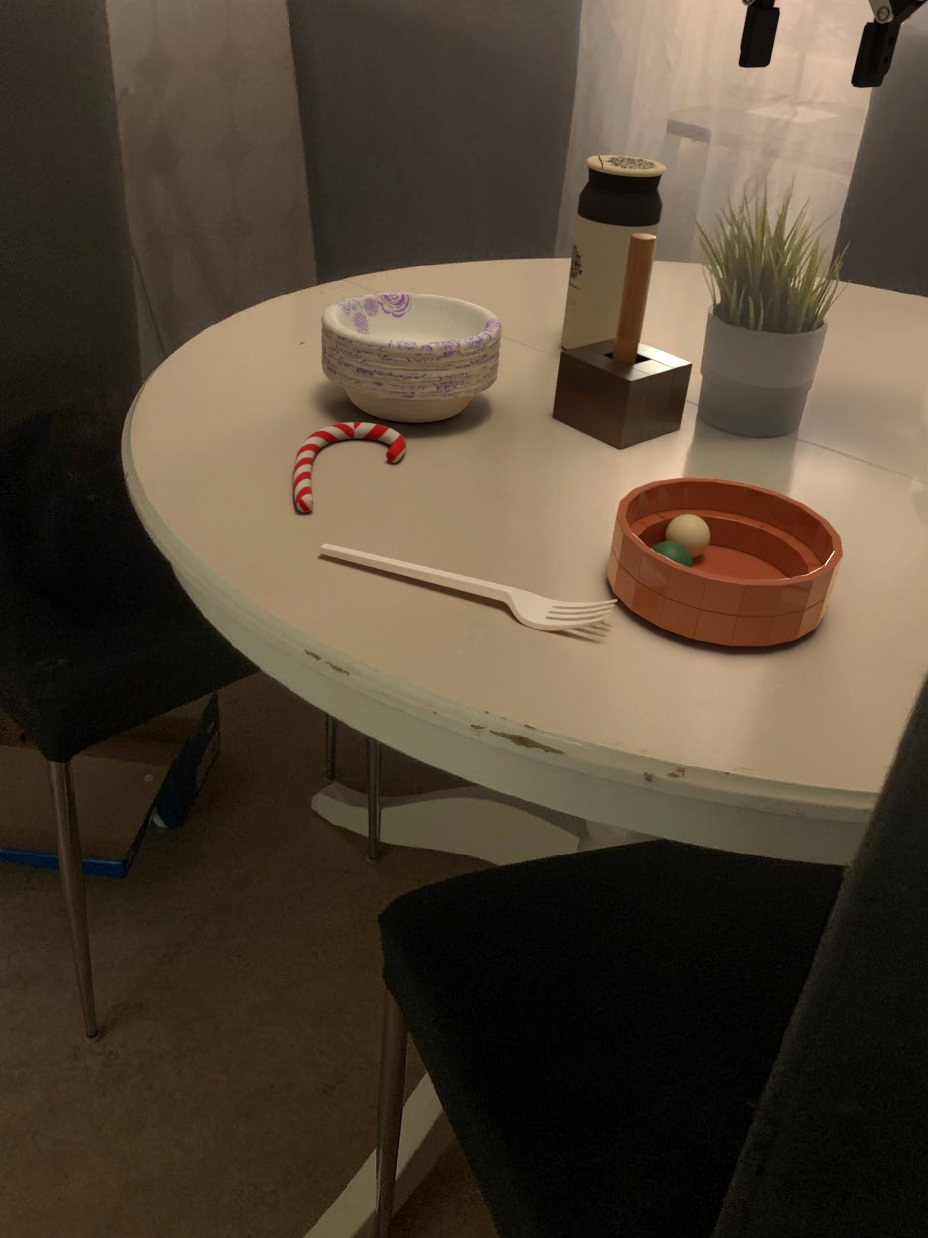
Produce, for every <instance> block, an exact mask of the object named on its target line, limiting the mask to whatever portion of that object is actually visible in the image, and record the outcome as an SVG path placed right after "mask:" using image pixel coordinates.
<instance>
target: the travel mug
mask: <svg viewBox="0 0 928 1238" xmlns="http://www.w3.org/2000/svg"><path fill="white" fill-rule="evenodd" d="M585 164H586V166H587V169H588V170H587V171H588V181H587V183H586V184H585V185H584V187H583V189H582V190H581V191H580V193H579V195H578V204H577V211H576V220H575V228H574V234H573V245H572V252H571V260H570V268H569V275H568V283H567V291H566V292H567V293H566V300H565V307H564V316H563V324H562V332H561V338H560V339H561V341H560V344H561V346H562V347H563V348H564V349H565V350H568V349H572V348H576V347H580V346H584V345H588V344H592V343H596V342H600V341H605V340H608V339H612V338H615V337H616V330H617V324H618V317H619V311H620V304H621V298H622V291H623V284H624V278H625V271H626V265H627V258H628V251H629V245H630V238H631V235H632V234H634V233H645V234H650V235H653V236H655V237H656V241H655V247H654V254H653V260H652V266H651V272H650V278H649V284H648V290H647V296H646V302H645V308H644V314H643V320H642V327H641V333H640V339H639V342H640V343H641V338H642V332H643V328H644V327H643V326H644V320H645V314H646V310H647V309H646V308H647V302H648V298H649V292H650V285H651V279H652V273H653V267H654V260H655V254H656V250H657V249H656V248H657V243H658V242H657V241H658V237H659V229H660V224H661V219H662V218H661V217H662V213H663V207H664V202H663V200H662V197H661V193H660V190H659V187H660V183H661V180H662V177H663V175H664V174H665V173H666V171H667V168H666V166H665V165H664V164H662V163H661V162H659V161H657V160H656V161H655V160H652V159H648V158H643V157H637V156H631V155H622V154H621V155H619V154H597V155H593V156H589V157H588V158H586V161H585Z"/></svg>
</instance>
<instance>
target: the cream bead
mask: <svg viewBox="0 0 928 1238" xmlns="http://www.w3.org/2000/svg"><path fill="white" fill-rule="evenodd" d="M665 540H666V541H672V542H677V543H679V544H681V545H683V546H684V547H685V548H686V549H687V550H688V552H689V553H690V555H691V558H694V557H696V556H698V555H700V554H701V553H703V552H704V551H705V549H706V548H707V546H708V544H709V541H710V531H709V528H708V526H707V524H706V523H705V522H704V521H703V520H702V519H701V518H700V517H698V516H695V515H691V514H686V515H681V516H678V517H676V518H675V519H674V520H672V521H671V522H670V524H669V525H668V527H667V529H666V533H665Z"/></svg>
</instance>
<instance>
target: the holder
mask: <svg viewBox="0 0 928 1238" xmlns="http://www.w3.org/2000/svg"><path fill="white" fill-rule="evenodd" d="M614 344H615V338H612V339H608V340H605V341H600V342H596V343H592V344H588V345H584V346H580V347H576V348H572V349H568V350H567V349H563V350H560V353H559V360H558V368H557V369H558V370H557V377H556V385H555V394H554V401H553V409H552V418H554V419H556V420H557V421H560V422H562V423H564V424H566V425H568V426H570V427H572V428H575V429H577V430H579V431H581V432H583V433H585V434H587V435H589V436H591V437H593V438H595V439H597V440H599V441H601V442H603V443H605V444H607V445H610V446H612V447H614V448H617V449H619V450H622V449H625V448H629V447H631V446H634V445H637V444H639V443H642V442H646V441H649V440H651V439H655V438H657V437H660V436H662V435H665V434H669V433H672V432H674V431H677V430H680V429H681V427H682V421H683V416H684V410H685V406H686V399H687V395H688V389H689V385H690V379H691V376H692V370H693V364H694V363H692V362H691V361H688V360H685V359H683V358H680V357H677V356H675V355H672V354H671V353H668V352H665V351H662V350H660V349H657V348H655V347H652V346H649V345H647V344H644V343H643V342H641V341H640V342H639V345H638V351H637V357H636V363H635V364H634V365H631V366H627V365H625V364H622V363H620V362H617V361H615V360H612V357H613V350H614Z"/></svg>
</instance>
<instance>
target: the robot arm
mask: <svg viewBox="0 0 928 1238" xmlns="http://www.w3.org/2000/svg"><path fill="white" fill-rule="evenodd" d="M777 1H778V0H741V3H742V5H744V6H745V7H746V12H745V16H744V17H745V18H744V23H743V28H742V34H741V39H740V46H739V51H740V53H739V58H738V66H739V68H745V69H755V68H756V69H757V68H758V69H759V68H766V67H768V66H770V64H771V61H772V54H773V50H774V45H775V41H776V37H777V30H778V25H779V21H780V16H781V11H780V10H781V7H778V6H775V3H776V2H777ZM868 3H869V6H870V9H871V11H872V14H873V21H866V23H865V25H864V26H863V29H862V33H861V38H860V41H859V46H858V51H857V54H856V59H855V63H854V67H853V71H852V75H851V80H850V83H851V85H852V87H853V88H858V89H866V88H879V87H881V86H882V84H883V82H884V79H885V76H887V74H888V73H889V71H890V69H891V65H892V60H893V57H894V53H895V50H896V47H897V46H896V45H897V41H898V37H899V34H900V29H901V27H902V25H903V24H906V23H908V22H909V21H910V19H912V15H913V14H914V13H916V11H918V10H919V9H920V8H921V7H922V6H923V5H925V4H926V3H928V0H868Z"/></svg>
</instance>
